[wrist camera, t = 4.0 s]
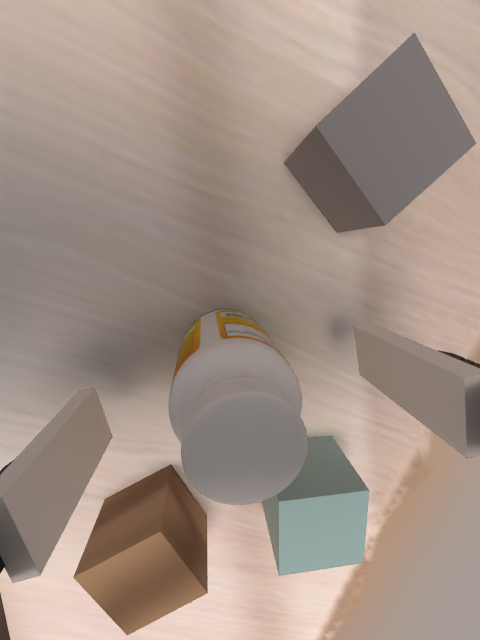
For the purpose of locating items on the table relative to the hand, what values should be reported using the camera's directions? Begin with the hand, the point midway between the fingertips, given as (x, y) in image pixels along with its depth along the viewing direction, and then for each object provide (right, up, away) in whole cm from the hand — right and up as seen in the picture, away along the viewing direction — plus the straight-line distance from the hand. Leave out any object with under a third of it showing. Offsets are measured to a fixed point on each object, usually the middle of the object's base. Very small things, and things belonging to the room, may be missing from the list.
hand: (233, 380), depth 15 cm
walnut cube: (-5, -10, +6) cm, 13 cm away
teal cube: (+4, -8, +6) cm, 11 cm away
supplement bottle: (-1, +1, +4) cm, 4 cm away
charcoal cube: (+6, +12, +2) cm, 13 cm away
